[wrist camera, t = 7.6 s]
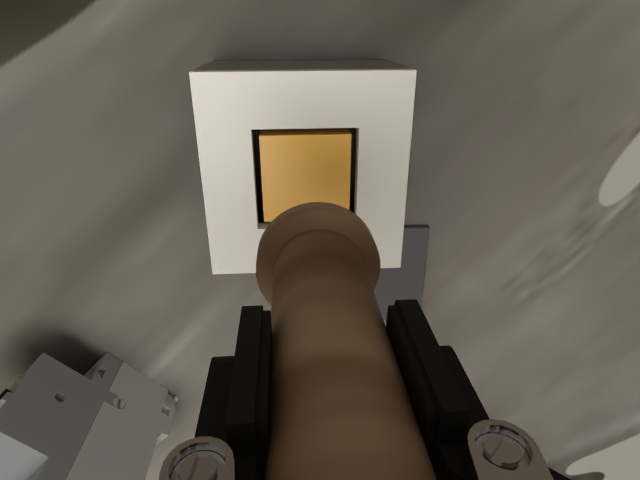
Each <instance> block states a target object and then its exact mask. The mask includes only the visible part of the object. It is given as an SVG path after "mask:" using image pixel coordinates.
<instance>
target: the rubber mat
mask: <svg viewBox="0 0 640 480" xmlns="http://www.w3.org/2000/svg"><path fill="white" fill-rule="evenodd" d="M429 229H430V227H429V226H428V225H416V226H404V231H403V243H402V256H401V268H380V275H379V279H378V282H377V285H376V287H375V289H374V294H375V297H376V300H377V303H378V306H379V309H380V312H381V315H382V318H383V319H387V310H388V306H389V305H394V303H395V301H396V300H407V299H416V300H417V301H418V303H419V305H420V307H421V303H422V294H423V285H424V276H425V266H426V257H427V248H428V239H429Z"/></svg>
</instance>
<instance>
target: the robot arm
mask: <svg viewBox="0 0 640 480" xmlns="http://www.w3.org/2000/svg"><path fill="white" fill-rule="evenodd" d="M386 330H387V333H388V336H389V339H390V342H391V345H392V348H393V351H394V354H395V357H396V360H397V362H398V365H399V368H400V371H401V374H402V377H403V380H404V383H405V386H406V389H407V392H408V395H409V398H410V401H411V404H412V407H413V410H414V413H415V416H416V419H417V422H418V425H419V428H420V431H421V434H422V437H423V440H424V443H425V446H426V449H427V452H428V455H429V458H430V461H431V464H432V467H433V470H434V473H435V476H436V479H437V480H570V479H569V478H567V477H565V476H563V475H561V474H560V473H558V472H556V471H554V470H552V469H550V468H549V467H547V465H546V462H545V460H544V458H543V456H542V454H541V452H540V450H539V447H538V446H537V444H536V443H535V441H534V440H533V438H532V437H530V436H529V435H528V434H527V433H526V432H525V431H524V430H522V429H521V428H519V427H517V426H516V425H514V424H511V423H508V422H506V421H502V420H495V419H489V417H488V415H487V413H486V411H485V409H484V407H483V405H482V403H481V402H480V400H479V398H478V396H477V394H476V392H475V390H474V388H473V386H472V384H471V382H470V380H469V378H468V377H467V375H466V373H465V371H464V369H463V367H462V365H461V363H460V361H459V359H458V357H457V355H456V353H455V352H454V350H453V348H452V347H450V346H439V344H438V342H437V340H436V338H435V336H434V334H433V332H432V330H431V328H430V326H429V324H428V321H427V319H426V317H425V315H424V313H423V311H422V309H421V307H420V305H419V303H418V301H417V300H416V299H407V300H396V301H395V303H394V305H389V306H388V310H387V323H386ZM271 350H272V324H271V311H263V306H242V309H241V316H240V323H239V330H238V337H237V344H236V351H235V356H224V357H213V358H212V359H211V363H210V367H209V372H208V377H207V382H206V386H205V391H204V396H203V400H202V405H201V410H200V414H199V419H198V424H197V428H196V433H195V438H193V439H189V440H187V441H185V442H183V443H181V444H179V445H178V446H177V447H175V448H174V449H173V450H172V451H171V452H170V453H169V454H168V456H167V457H166V459H165V460H164V461H163V464H162V467H161V470H160V475H159V480H264V478H265V464H266V459H267V456H268V435H269V407H270V379H271Z"/></svg>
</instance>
